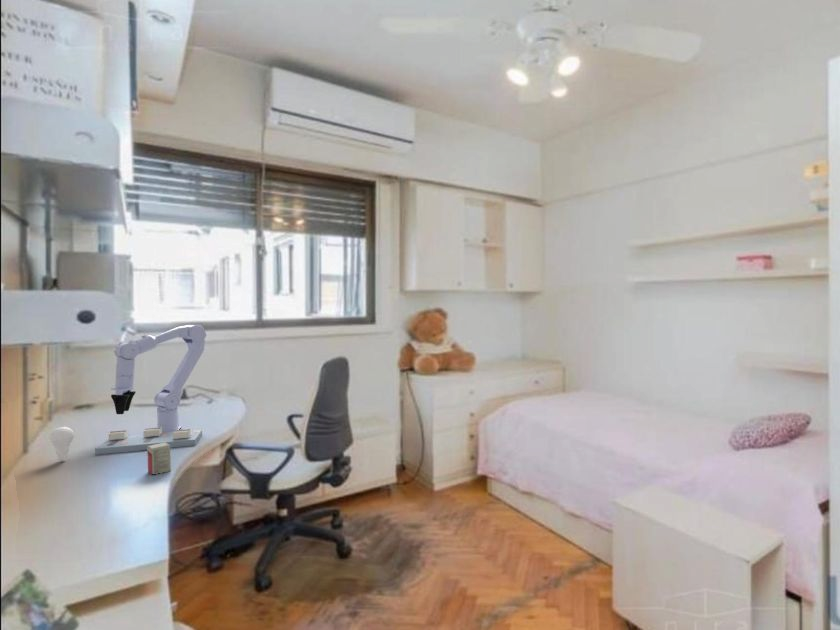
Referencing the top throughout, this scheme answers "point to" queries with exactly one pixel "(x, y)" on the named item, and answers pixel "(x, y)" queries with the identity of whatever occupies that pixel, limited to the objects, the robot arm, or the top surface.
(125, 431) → the knob
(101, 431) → the top surface
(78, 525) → the top surface
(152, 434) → the knob
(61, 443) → the lightbulb
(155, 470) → the small box
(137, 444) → the switch unit
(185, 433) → the knob
